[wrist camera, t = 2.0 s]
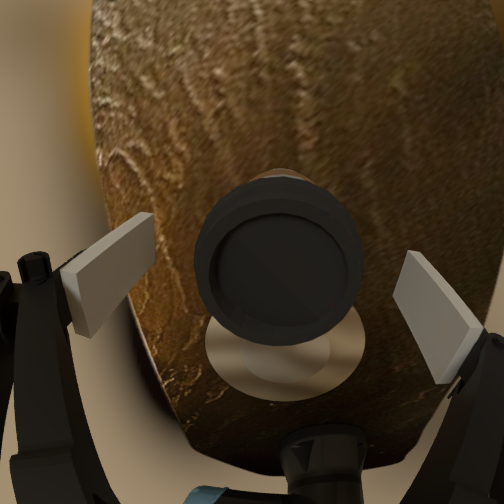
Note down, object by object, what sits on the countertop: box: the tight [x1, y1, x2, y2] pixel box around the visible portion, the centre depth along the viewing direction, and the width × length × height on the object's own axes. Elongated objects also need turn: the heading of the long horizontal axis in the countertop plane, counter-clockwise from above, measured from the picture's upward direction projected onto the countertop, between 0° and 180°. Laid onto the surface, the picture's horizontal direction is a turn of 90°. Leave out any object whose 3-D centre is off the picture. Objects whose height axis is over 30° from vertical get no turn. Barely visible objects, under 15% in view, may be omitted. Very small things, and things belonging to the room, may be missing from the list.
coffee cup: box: [194, 168, 364, 346], centre depth 19 cm, size 8×8×15 cm
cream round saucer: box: [205, 305, 365, 401], centre depth 32 cm, size 18×18×2 cm
